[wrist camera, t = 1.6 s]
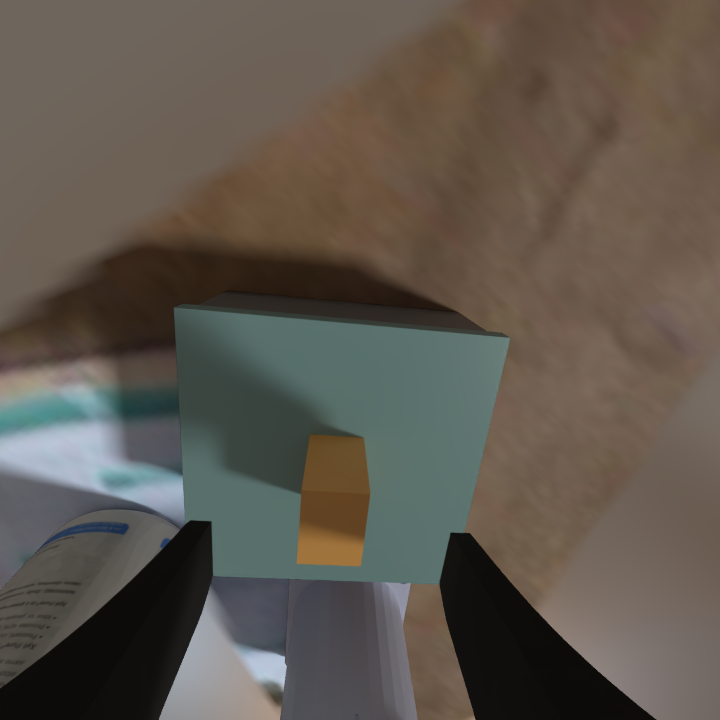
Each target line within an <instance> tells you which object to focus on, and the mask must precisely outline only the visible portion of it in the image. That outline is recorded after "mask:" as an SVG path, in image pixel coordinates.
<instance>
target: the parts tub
mask: <svg viewBox="0 0 720 720" xmlns="http://www.w3.org/2000/svg"><path fill="white" fill-rule="evenodd" d="M199 305H203V306H214V307H225V308H236V309H247V310H258V311H269V312H280V313H291V314H302V315H313V316H324V317H335V318H346V319H357V320H368V321H379V322H390V323H401V324H412V325H423V326H433V327H444V328H455V329H466V330H477V331H486V330H484V329H483V328H481V327H480V326H478V325H477V324H475V323H474V322H472V321H471V320H469V319H468V318H466V317H465V316H463V315H462V314H460V313H458V312H448V311H437V310H427V309H416V308H405V307H395V306H384V305H374V304H363V303H352V302H342V301H331V300H321V299H310V298H300V297H289V296H278V295H268V294H257V293H247V292H236V291H225V292H223V293H221V294H219V295H217V296H215V297H213V298H211V299H209V300H207V301H205V302H203V303H201V304H199Z"/></svg>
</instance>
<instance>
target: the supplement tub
mask: <svg viewBox="0 0 720 720" xmlns="http://www.w3.org/2000/svg"><path fill="white" fill-rule="evenodd" d="M179 531H180V529H179V528H177V527H176V526H174V525H173V524H171V523H170V522H168V521H166V520H164V519H162V518H160V517H157V516H155V515H152V514H149V513H145V512H140V511H134V510H120V509H110V510H100V511H96V512H92V513H88V514H85V515H82V516H80V517H77V518H75V519H73V520H71V521H70V522H68V523H66V524H65V525H64V526H62V527H61V528H60V529H58V530H57V531H56V532H55V533H54V534H53V535H52V536H51V537H50V538H49V539H48V540H47V541H46V542H45V543H44V544H43V545H42V546H41V547H40V548H39V550H38V551H37V552H36V553H35V554H34V555H33V556H32V557H31V558H30V559H29V560H28V561H27V562H26V563H25V564H24V565H23V567H22V568H21V569H20V570H19V571H18V572H17V573H16V574H15V575H14V576H13V577H12V578H11V579H10V581H9V582H8V583H7V584H6V585H5V586H4V587H3V588H2V589H1V590H0V688H1V687H2V686H4V685H5V684H7V683H8V682H9V681H11V680H12V679H13V678H15V677H16V676H17V675H19V674H20V673H21V672H23V671H24V670H25V669H27V668H28V667H29V666H31V665H32V664H33V663H35V662H36V661H37V660H38V659H40V658H41V657H42V656H44V655H45V654H46V653H48V652H49V651H50V650H51V649H53V648H54V647H55V646H56V645H58V644H59V643H60V642H61V641H63V640H64V639H65V638H66V637H68V636H69V635H70V634H71V633H72V632H74V631H75V630H76V629H77V628H78V627H80V626H81V625H82V624H83V623H84V622H85V621H87V620H88V619H89V618H90V617H91V616H92V615H94V614H95V613H96V612H97V611H98V610H99V609H100V608H101V607H102V606H104V605H105V604H106V603H107V602H108V601H109V600H110V599H111V598H112V597H113V596H114V595H116V594H117V593H118V592H119V591H120V590H121V589H122V588H123V587H124V586H125V585H126V584H127V583H129V582H130V581H131V580H132V579H133V578H134V577H135V576H136V575H137V574H138V573H139V572H140V571H141V570H142V569H143V568H144V567H145V566H146V565H147V564H148V563H149V562H150V561H151V560H152V559H153V558H154V557H155V556H156V555H157V554H158V553H159V552H160V551H161V550H162V549H163V548H164V547H165V546H166V544H167V543H168V542H169V541H170V540H171V539H172V538H173V537H174V536H175V535H176V534H177V533H178V532H179Z"/></svg>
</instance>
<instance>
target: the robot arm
mask: <svg viewBox="0 0 720 720" xmlns="http://www.w3.org/2000/svg"><path fill="white" fill-rule="evenodd" d="M212 577H213V552H212V521H197V520H190V521H189V522H187V523H186V524H185V525H184V526H183V527H182V529H181V530H180V531H179V532H178V533H177V534H176V535H175V536H174V537H173V538H172V539H171V540H170V541H169V542H168V543H167V544H166V546H165V547H164V548H163V549H162V550H161V551H160V552H159V553H158V554H157V555H156V556H155V557H154V558H153V559H152V560H151V561H150V562H149V563H148V564H147V565H146V566H145V567H144V568H143V569H142V570H141V571H140V572H139V573H138V574H137V575H136V576H135V577H134V578H133V579H132V580H131V581H130V582H129V583H127V584H126V585H125V586H124V587H123V588H122V589H121V590H120V591H119V592H118V593H117V594H116V595H114V596H113V597H112V598H111V599H110V600H109V601H108V602H107V603H106V604H105V605H104V606H102V607H101V608H100V609H99V610H98V611H97V612H96V613H95V614H94V615H92V616H91V617H90V618H89V619H88V620H87V621H85V622H84V623H83V624H82V625H81V626H80V627H78V628H77V629H76V630H75V631H74V632H72V633H71V634H70V635H69V636H68V637H66V638H65V639H64V640H63V641H61V642H60V643H59V644H58V645H56V646H55V647H54V648H53V649H51V650H50V651H49V652H48V653H46V654H45V655H44V656H42V657H41V658H40V659H38V660H37V661H36V662H35V663H33V664H32V665H31V666H29V667H28V668H27V669H25V670H24V671H23V672H21V673H20V674H19V675H17V676H16V677H15V678H13V679H12V680H11V681H9V682H8V683H7V684H5V685H4V686H2V687H1V688H0V720H159V717H160V715H161V712H162V709H163V707H164V704H165V701H166V699H167V697H168V694H169V692H170V689H171V687H172V685H173V682H174V680H175V677H176V675H177V672H178V670H179V668H180V665H181V663H182V660H183V658H184V656H185V653H186V651H187V648H188V646H189V643H190V641H191V638H192V636H193V633H194V631H195V628H196V626H197V624H198V621H199V618H200V616H201V614H202V610H203V607H204V604H205V601H206V597H207V594H208V591H209V587H210V584H211V580H212ZM410 584H411V583H388V582H360V581H333V580H305V579H290V582H289V599H288V616H287V634H286V651H285V664H286V665H287V669H286V677H285V685H284V692H283V700H282V708H281V716H280V720H417V713H416V707H415V701H414V694H413V688H412V682H411V675H410V669H409V663H408V656H407V650H406V644H405V637H404V631H403V621H404V616H405V611H406V605H407V600H408V595H409V590H410ZM439 584H440V590H441V595H442V601H443V606H444V611H445V616H446V621H447V624H448V628H449V631H450V635H451V638H452V642H453V645H454V648H455V652H456V655H457V658H458V662H459V665H460V668H461V672H462V675H463V678H464V682H465V685H466V688H467V692H468V695H469V698H470V702H471V705H472V708H473V712H474V716H475V719H476V720H656V719H655V718H653V717H652V716H651V715H650V714H648V713H647V712H646V711H645V710H643V709H642V708H641V707H639V706H638V705H637V704H636V703H635V702H634V701H632V700H631V699H630V698H629V697H628V696H626V695H625V694H624V693H623V692H622V691H620V690H619V689H618V688H617V687H616V686H615V685H613V684H612V683H611V682H610V681H609V680H607V679H606V678H605V677H604V676H603V675H602V674H601V673H599V672H598V671H597V670H596V669H595V668H594V667H593V666H592V665H591V664H589V663H588V662H587V661H586V660H585V659H584V658H583V657H582V656H581V655H580V654H579V653H578V652H577V651H576V650H574V649H573V648H572V647H571V646H570V645H569V644H568V643H567V642H566V641H565V640H564V639H563V638H562V637H561V636H560V635H559V634H558V633H557V632H556V631H555V630H554V629H553V628H552V627H551V626H550V625H549V624H548V623H547V622H546V621H545V620H544V619H543V618H542V616H541V615H540V614H539V613H538V612H537V611H536V610H535V609H534V608H533V607H532V606H531V605H530V604H529V603H528V601H527V600H526V599H525V598H524V597H523V596H522V595H521V594H520V592H519V591H518V590H517V589H516V588H515V587H514V586H513V584H512V583H511V582H510V581H509V580H508V579H507V577H506V576H505V575H504V574H503V573H502V572H501V570H500V569H499V568H498V567H497V566H496V564H495V563H494V562H493V561H492V560H491V558H490V557H489V556H488V555H487V553H486V552H485V551H484V550H483V549H482V547H481V546H480V545H479V544H478V542H477V541H476V540H475V539H474V538H473V536H472V535H471V534H470V533H454V532H451V533H450V537H449V542H448V546H447V550H446V555H445V559H444V564H443V568H442V573H441V577H440V581H439Z"/></svg>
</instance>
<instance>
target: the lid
mask: <svg viewBox="0 0 720 720" xmlns="http://www.w3.org/2000/svg"><path fill="white" fill-rule="evenodd" d="M174 321H175V340H176V358H177V377H178V396H179V415H180V434H181V452H182V471H183V490H184V509H185V524H186V523H187V522H189V521H190V520H197V521H212V552H213V576H222V577H250V578H277V579H305V580H333V581H360V582H388V583H415V584H439V581H440V577H441V573H442V568H443V564H444V559H445V555H446V550H447V546H448V542H449V537H450V533H451V532H454V533H464V532H465V527H466V523H467V519H468V515H469V510H470V506H471V502H472V498H473V493H474V489H475V485H476V481H477V477H478V472H479V468H480V464H481V460H482V455H483V451H484V447H485V443H486V438H487V434H488V430H489V426H490V421H491V417H492V413H493V409H494V405H495V400H496V396H497V392H498V388H499V383H500V379H501V375H502V371H503V366H504V362H505V358H506V354H507V350H508V345H509V341H510V337H508V336H506V335H505V334H503V333H499V332H488V331H477V330H466V329H455V328H444V327H433V326H423V325H412V324H401V323H390V322H379V321H368V320H357V319H346V318H335V317H324V316H313V315H302V314H291V313H280V312H269V311H258V310H247V309H236V308H225V307H214V306H203V305H192V304H181V305H179V306H176V307H174Z"/></svg>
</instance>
